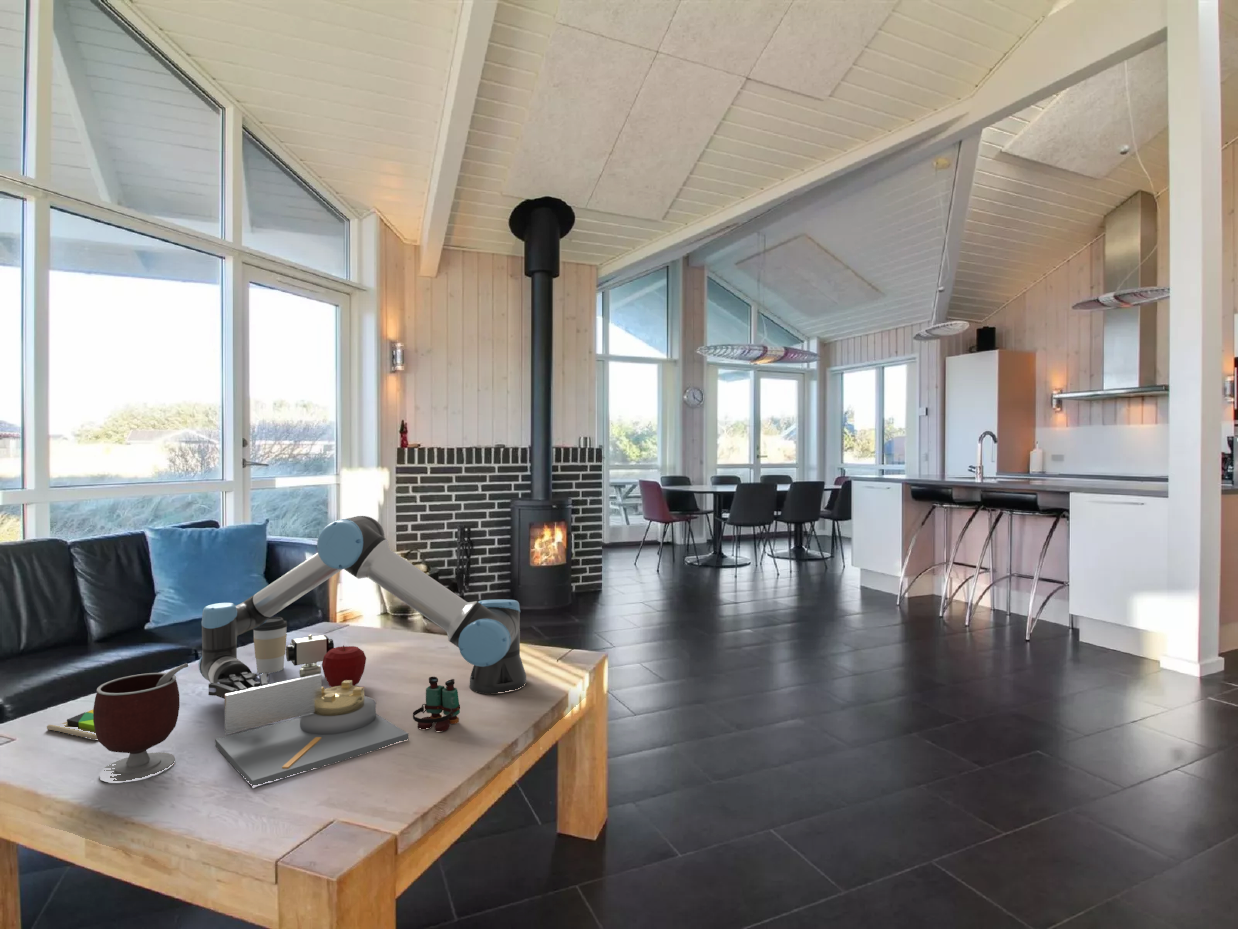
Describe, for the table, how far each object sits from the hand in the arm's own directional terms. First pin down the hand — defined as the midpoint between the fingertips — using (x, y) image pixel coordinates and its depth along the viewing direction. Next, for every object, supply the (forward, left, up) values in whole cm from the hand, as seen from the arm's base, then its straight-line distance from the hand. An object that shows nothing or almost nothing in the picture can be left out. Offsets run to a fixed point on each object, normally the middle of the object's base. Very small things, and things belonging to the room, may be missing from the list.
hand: (260, 701), depth 147 cm
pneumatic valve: (+24, -37, -9) cm, 46 cm away
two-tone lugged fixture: (-6, -5, -4) cm, 9 cm away
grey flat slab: (-11, -4, -9) cm, 15 cm away
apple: (+8, -33, -9) cm, 36 cm away
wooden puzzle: (+42, +4, -10) cm, 44 cm away
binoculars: (-31, -20, -9) cm, 38 cm away
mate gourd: (+11, +18, -9) cm, 23 cm away
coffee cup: (+40, -38, -9) cm, 56 cm away
